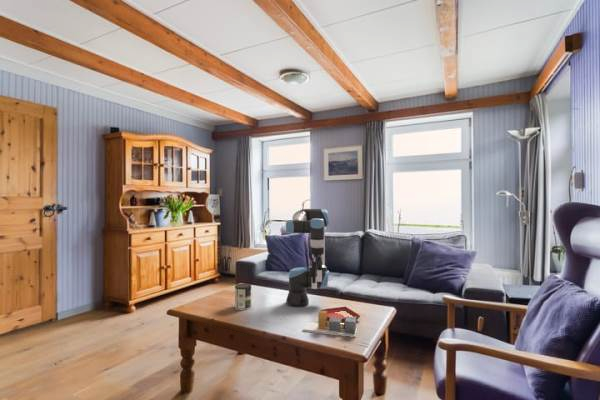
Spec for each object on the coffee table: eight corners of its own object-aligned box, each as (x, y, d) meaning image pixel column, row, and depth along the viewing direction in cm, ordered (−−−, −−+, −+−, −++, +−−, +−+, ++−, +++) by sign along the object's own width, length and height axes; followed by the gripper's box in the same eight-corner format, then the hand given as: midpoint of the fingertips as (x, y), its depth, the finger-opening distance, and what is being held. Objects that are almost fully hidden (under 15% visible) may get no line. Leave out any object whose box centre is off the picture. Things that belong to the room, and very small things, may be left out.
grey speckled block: (330, 326, 168) (330, 317, 168) (341, 327, 167) (341, 318, 167) (328, 330, 163) (328, 321, 163) (340, 332, 161) (340, 322, 161)
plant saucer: (319, 314, 190) (319, 309, 190) (345, 311, 196) (345, 305, 196) (332, 326, 173) (332, 320, 173) (361, 321, 179) (361, 315, 179)
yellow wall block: (318, 327, 165) (318, 312, 165) (320, 325, 169) (320, 310, 169) (352, 332, 160) (352, 316, 160) (353, 329, 164) (353, 313, 164)
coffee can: (249, 304, 208) (249, 282, 208) (252, 309, 198) (252, 286, 198) (233, 305, 204) (233, 284, 204) (236, 311, 194) (236, 288, 194)
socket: (346, 327, 167) (346, 316, 167) (356, 329, 165) (356, 317, 165) (344, 333, 160) (344, 321, 160) (354, 334, 159) (354, 322, 159)
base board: (307, 323, 174) (307, 322, 174) (357, 329, 167) (357, 328, 167) (302, 331, 165) (302, 329, 165) (355, 337, 157) (355, 335, 157)
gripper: (315, 242, 186) (315, 278, 186) (304, 250, 162) (304, 291, 162) (327, 243, 184) (327, 279, 184) (319, 251, 160) (318, 292, 160)
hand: (316, 285), depth 173 cm, fingers open, 13 cm apart
